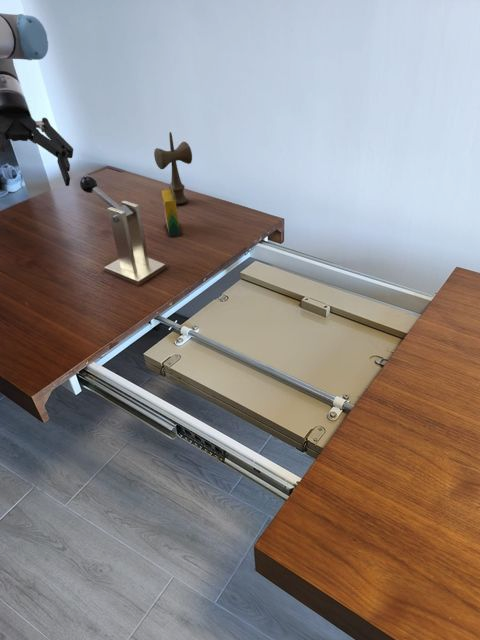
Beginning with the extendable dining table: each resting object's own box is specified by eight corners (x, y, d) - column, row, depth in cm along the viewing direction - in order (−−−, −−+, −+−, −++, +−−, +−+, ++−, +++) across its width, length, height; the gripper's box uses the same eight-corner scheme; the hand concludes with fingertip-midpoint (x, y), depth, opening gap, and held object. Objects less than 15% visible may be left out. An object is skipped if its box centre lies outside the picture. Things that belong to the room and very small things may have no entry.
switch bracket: (105, 271, 111) (89, 207, 101) (132, 255, 117) (120, 193, 107) (139, 285, 107) (126, 220, 97) (166, 268, 113) (156, 205, 102)
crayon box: (166, 224, 130) (160, 183, 122) (176, 223, 131) (171, 182, 123) (169, 237, 125) (163, 194, 117) (180, 235, 125) (175, 193, 118)
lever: (75, 188, 105) (76, 175, 102) (88, 183, 107) (89, 170, 104) (122, 227, 103) (124, 215, 100) (134, 221, 105) (136, 209, 102)
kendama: (197, 201, 142) (191, 131, 128) (168, 210, 137) (159, 137, 124) (187, 195, 145) (180, 126, 132) (159, 203, 141) (149, 132, 128)
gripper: (-60, 87, 96) (-33, 175, 92) (67, 92, 109) (95, 170, 105) (-55, 115, 102) (-29, 198, 99) (65, 116, 115) (91, 190, 111)
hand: (35, 184), depth 102 cm, fingers open, 13 cm apart
